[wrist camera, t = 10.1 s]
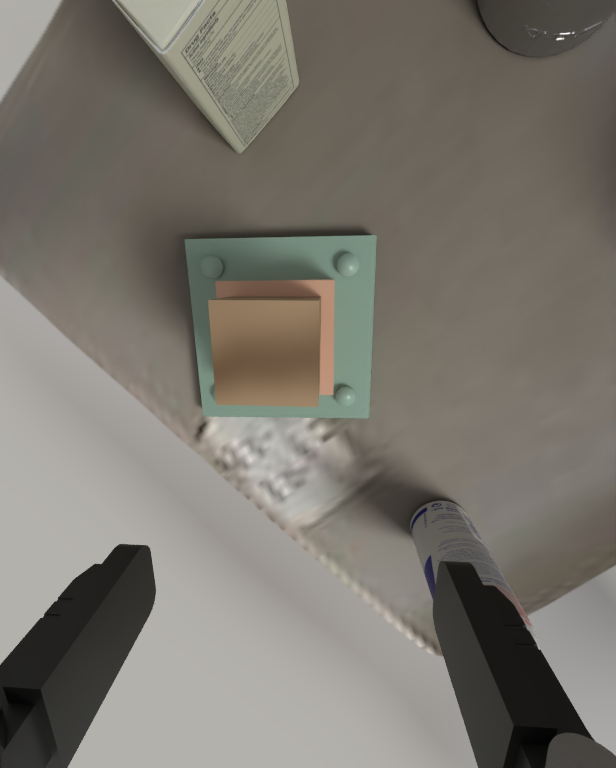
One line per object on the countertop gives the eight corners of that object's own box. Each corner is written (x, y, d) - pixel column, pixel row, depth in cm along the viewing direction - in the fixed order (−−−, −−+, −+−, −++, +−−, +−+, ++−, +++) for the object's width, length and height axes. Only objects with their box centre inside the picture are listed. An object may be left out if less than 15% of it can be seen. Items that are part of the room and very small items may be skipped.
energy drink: (411, 548, 33) (454, 688, 22) (407, 501, 32) (450, 624, 20) (468, 543, 33) (542, 684, 21) (466, 495, 31) (546, 619, 20)
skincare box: (256, 29, 23) (178, -240, 11) (303, 87, 23) (277, -107, 12) (194, 109, 24) (67, -52, 12) (240, 161, 25) (161, 56, 13)
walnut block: (232, 296, 23) (208, 300, 19) (321, 296, 23) (319, 300, 18) (237, 381, 25) (216, 404, 20) (320, 382, 25) (318, 406, 20)
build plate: (190, 240, 26) (165, 233, 22) (374, 237, 26) (382, 229, 22) (207, 411, 30) (189, 430, 26) (367, 412, 30) (373, 433, 26)
